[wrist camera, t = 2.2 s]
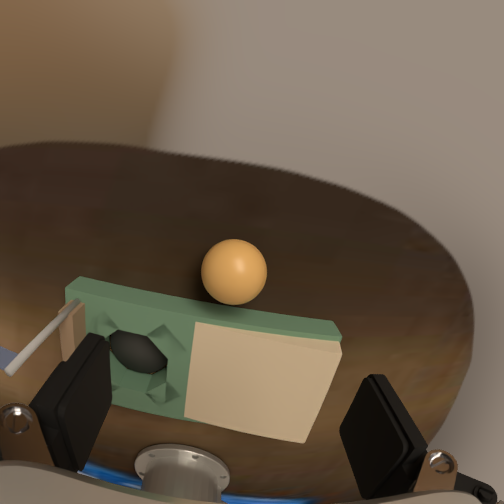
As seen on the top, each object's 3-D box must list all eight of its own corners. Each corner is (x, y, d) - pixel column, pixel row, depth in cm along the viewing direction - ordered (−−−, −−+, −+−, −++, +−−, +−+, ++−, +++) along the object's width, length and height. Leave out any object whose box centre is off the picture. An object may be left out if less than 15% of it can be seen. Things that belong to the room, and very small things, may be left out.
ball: (275, 269, 27) (283, 291, 22) (227, 300, 28) (225, 328, 23) (241, 221, 26) (243, 234, 21) (192, 255, 26) (183, 274, 22)
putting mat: (332, 321, 29) (392, 424, 15) (299, 413, 32) (324, 517, 18) (70, 273, 26) (-22, 346, 13) (76, 373, 29) (21, 462, 16)
